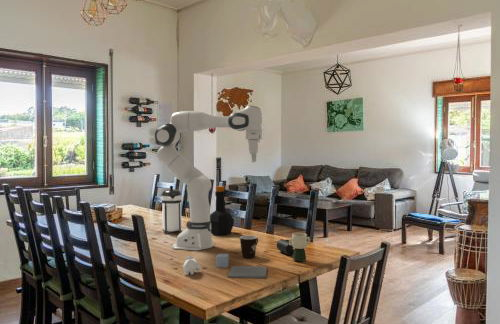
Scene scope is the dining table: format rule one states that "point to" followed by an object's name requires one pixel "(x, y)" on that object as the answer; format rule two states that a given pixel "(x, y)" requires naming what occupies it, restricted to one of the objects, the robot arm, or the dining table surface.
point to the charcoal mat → (247, 272)
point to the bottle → (221, 215)
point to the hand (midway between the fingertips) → (254, 161)
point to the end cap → (285, 247)
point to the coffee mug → (248, 246)
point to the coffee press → (171, 210)
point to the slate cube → (222, 260)
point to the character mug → (299, 245)
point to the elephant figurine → (190, 265)
